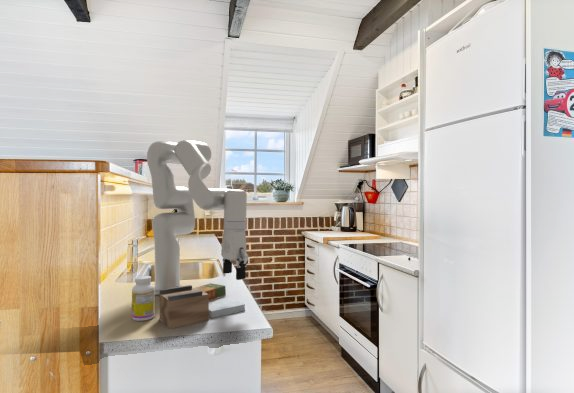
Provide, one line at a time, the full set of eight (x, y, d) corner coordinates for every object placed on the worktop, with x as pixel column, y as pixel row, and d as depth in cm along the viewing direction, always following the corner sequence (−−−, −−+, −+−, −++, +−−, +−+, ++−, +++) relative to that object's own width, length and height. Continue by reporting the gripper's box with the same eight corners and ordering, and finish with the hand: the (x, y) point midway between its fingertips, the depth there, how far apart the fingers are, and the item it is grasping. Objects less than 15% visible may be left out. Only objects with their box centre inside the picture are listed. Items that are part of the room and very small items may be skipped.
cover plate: (203, 313, 117) (203, 306, 117) (235, 306, 124) (235, 299, 124) (211, 319, 112) (211, 311, 112) (244, 311, 119) (244, 304, 119)
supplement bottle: (136, 314, 115) (135, 275, 115) (157, 314, 115) (157, 274, 115) (128, 322, 108) (128, 280, 108) (151, 321, 109) (151, 279, 109)
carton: (178, 303, 128) (178, 291, 128) (210, 293, 142) (210, 282, 142) (194, 306, 124) (194, 294, 124) (226, 296, 137) (226, 284, 137)
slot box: (159, 319, 111) (159, 289, 111) (196, 311, 118) (196, 283, 118) (169, 328, 103) (169, 297, 103) (208, 320, 110) (208, 290, 110)
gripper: (214, 223, 125) (213, 272, 126) (237, 229, 111) (235, 283, 112) (233, 223, 130) (232, 269, 130) (257, 228, 116) (256, 280, 116)
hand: (233, 276), depth 121 cm, fingers open, 9 cm apart
